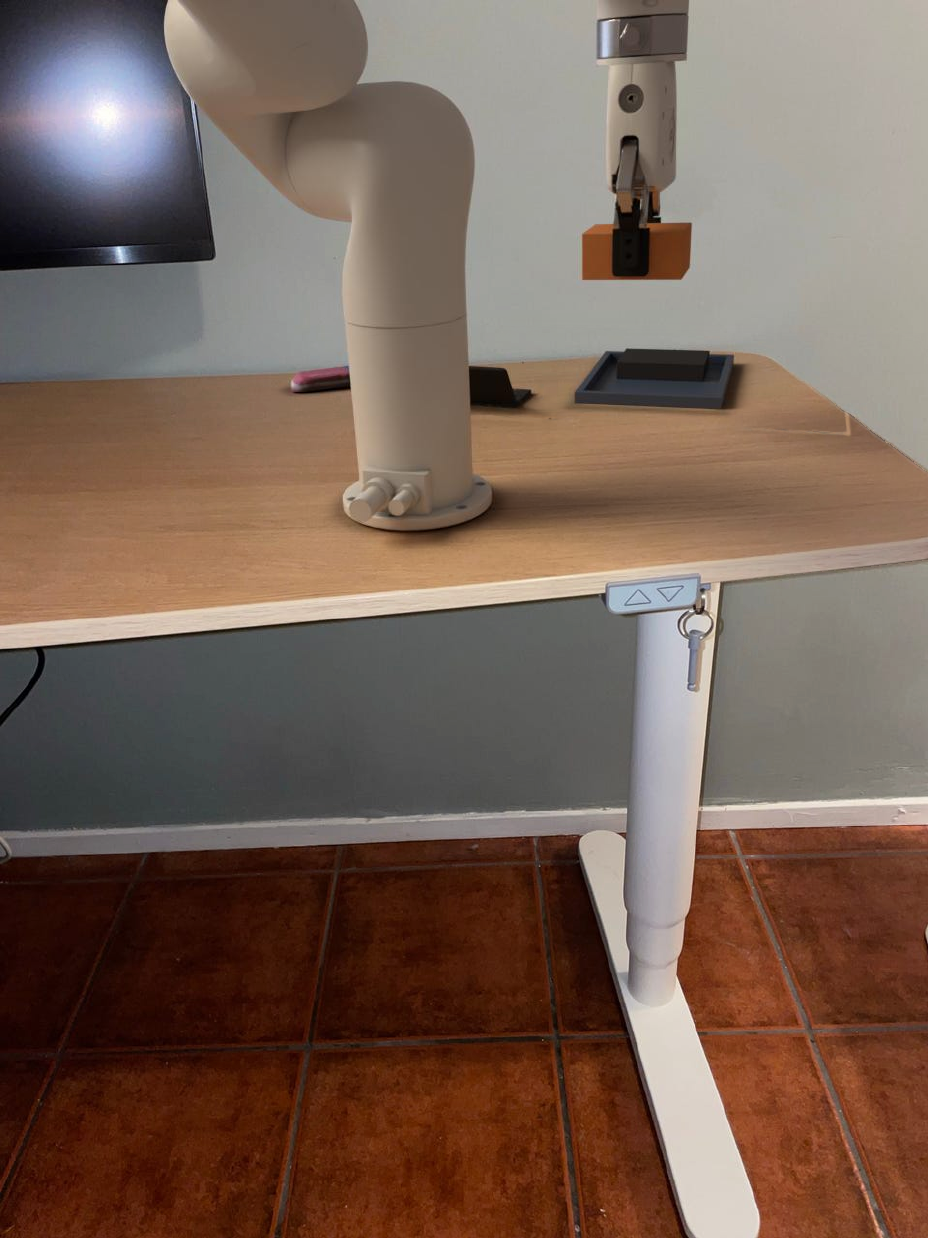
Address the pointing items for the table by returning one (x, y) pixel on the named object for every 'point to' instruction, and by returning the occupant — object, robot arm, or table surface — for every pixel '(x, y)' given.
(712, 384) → the pad tray
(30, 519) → the table surface
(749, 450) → the table surface
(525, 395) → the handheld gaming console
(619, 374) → the rubber pad
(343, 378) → the eraser
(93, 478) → the table surface
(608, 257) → the orange block
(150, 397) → the table surface
